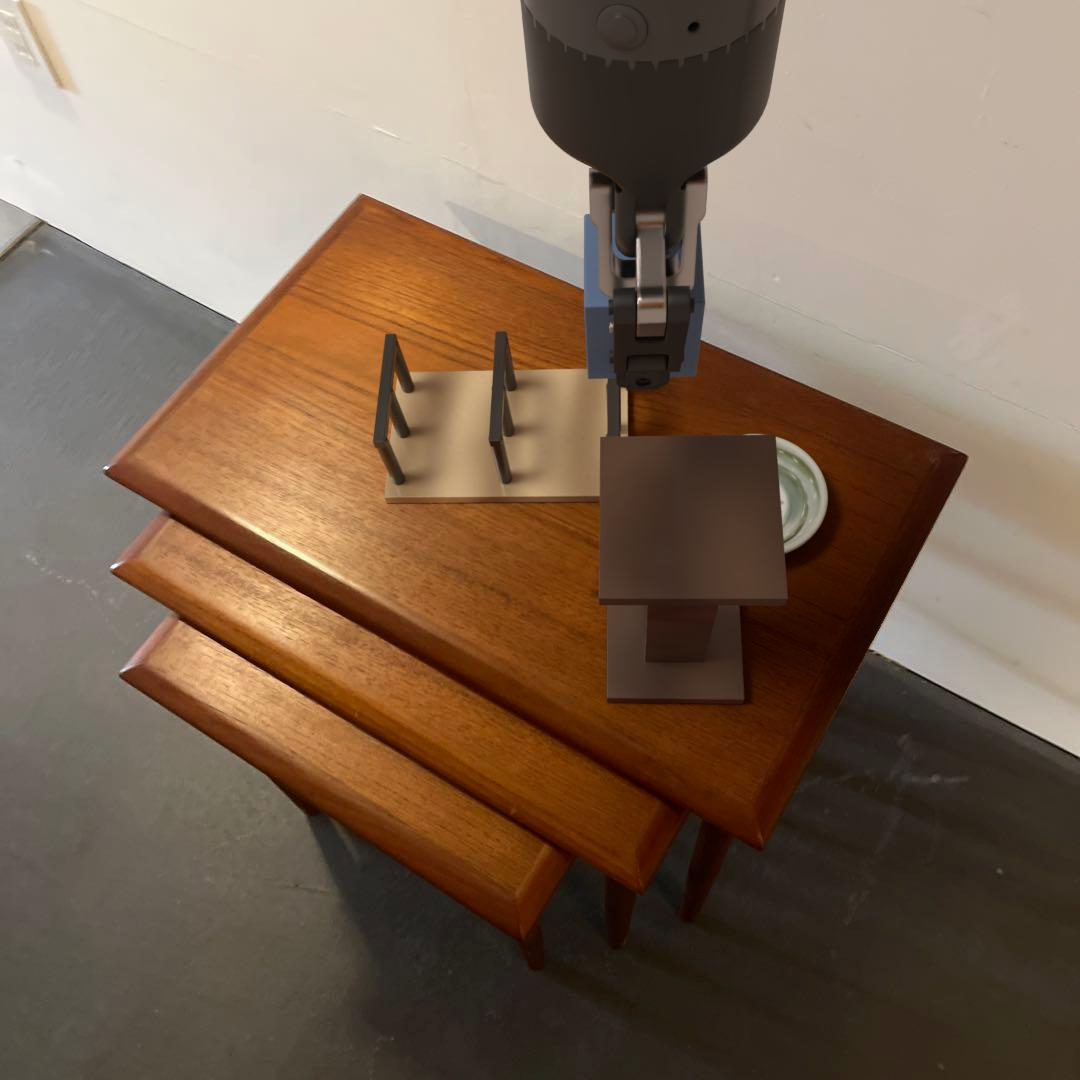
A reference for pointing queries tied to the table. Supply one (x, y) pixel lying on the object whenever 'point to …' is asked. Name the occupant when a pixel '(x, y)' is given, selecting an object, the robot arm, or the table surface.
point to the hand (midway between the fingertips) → (640, 328)
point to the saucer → (799, 494)
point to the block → (599, 315)
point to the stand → (686, 561)
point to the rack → (494, 431)
